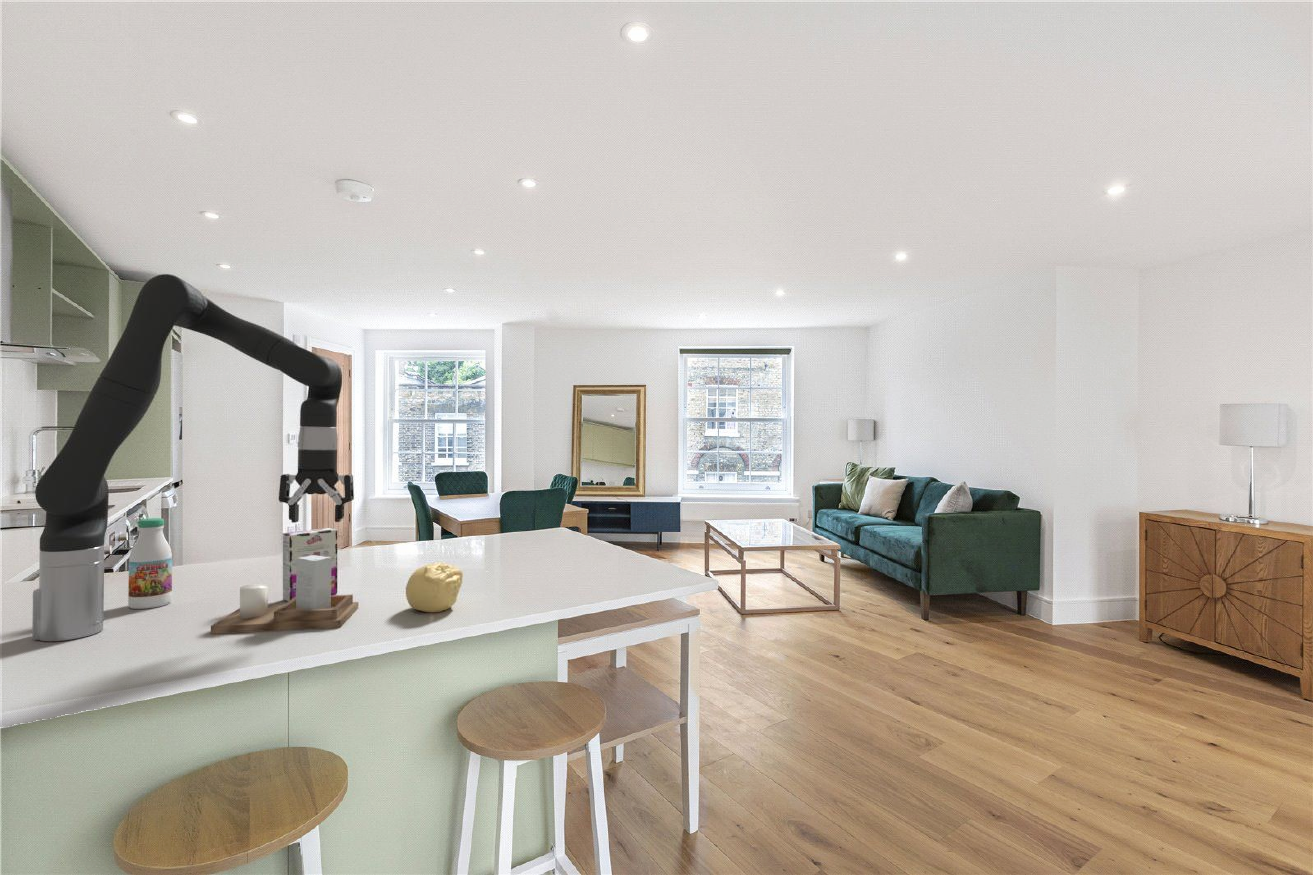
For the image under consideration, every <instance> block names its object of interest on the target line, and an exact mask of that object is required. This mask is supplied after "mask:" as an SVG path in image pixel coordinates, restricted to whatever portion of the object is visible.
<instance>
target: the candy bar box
mask: <svg viewBox="0 0 1313 875" xmlns="http://www.w3.org/2000/svg"><path fill="white" fill-rule="evenodd" d="M312 555H316V556H323V557H331V595H338V529H336V528H333V527H326V528H325V527H323V528H317V529H316V528H315V529H308V530H299V531H293V532H292V531H291V532H284V533H282V600H283V601H285V602H286V603H287V602H289V601H290V600H291V599H293V598H294V597H296V579H297V558H300V557H306V556H312Z"/></svg>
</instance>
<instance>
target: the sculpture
mask: <svg viewBox="0 0 1313 875" xmlns="http://www.w3.org/2000/svg"><path fill="white" fill-rule="evenodd" d="M463 575H464V574H463V572H462V570H461V569H460V568H458V567H456V566H455V565H449V564H447V563H443V562H440V561H437V562H433V563H432V564H427V565H424V566H421V567H419V568H417V569H416V570H414V572H412V573H411V575H410V576H409V578H408V580H407V583H406V586H405V597H406V600H407V603H408V604H409V606H410V607H411V608H412V609H414V610H417V611H421V612H426V613H439V612H443V610H444V611H446V610H448V609H450V608H451V607H453V606H454V605H455V604H456V602H458V601H457V600H458V595H459V592H460V589H461V587H462V585H463V577H464V576H463Z"/></svg>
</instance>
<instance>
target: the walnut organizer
mask: <svg viewBox="0 0 1313 875" xmlns="http://www.w3.org/2000/svg"><path fill="white" fill-rule="evenodd" d="M239 588H240V589H239V607H238V609H235V610H234V611H233V612H231V613H230V614H228V615H226V616H225V617H223V618H221V619H220V620H218V621H216V622H215V623H213V624H212V625H211V626H210V635H211V634H229V633H231V634H233V633H252V632H255V633H256V632H273V631H290V630H291V631H292V630H294V631H295V630H296V631H297V630H310V629H311V630H314V629H315V630H316V629H317V630H318V629H335V628H336V629H337V628H341V627H343V626H344V625H345V623H346V622H347V621H348V620H349V619H350V618H351V617H352V616H353V615H354V613H356V611H357V610H358V609H359V601H353V599H354V596H353V595H354V594H333V595H331V609H309V610H296V597H294V598H293V599H291V600H290V601H289V602H287V601H286V603H284V604H273V605H272V604H271V605H269V603H268V602H269V600H268V599H269V585H268V584H266V583H254V584H247V585H244V586H241V587H239ZM352 614H353V615H352Z"/></svg>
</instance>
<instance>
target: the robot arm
mask: <svg viewBox="0 0 1313 875" xmlns="http://www.w3.org/2000/svg"><path fill="white" fill-rule="evenodd" d="M132 308H133V309H132V311H131V313H130V316H129V319H128V320H127V324H126V325H125V328H124V330H123V332H122V334H121V337H119V338H120V339H119V340H118V342H117V344H116V346H115V348H114V349H113V351H112V353H111V356H109V359H108V360H107V363H106V365H105V366H104V367H103V369H102V371H101V373H100V374H99V376H98V378H97V379H96V381H95V383H94V385H93V387H92V388H91V391H90V392H89V394H88V397H87V398H86V400H85V402H84V405H83V406H82V409H80V410H81V411H80V413H79V414H78V417H77V419H76V421H75V424H74V426H73V428H72V431H71V433H70V435H69V438H67V440H66V443H65V444H64V445H63V447H62V448H61V450H60V451H59V453H58V454H57V455H56V457H55V458H54V460H53V461H52V462H51V463H50V465H49V466H48V468H46V470H45V472H44V473H43V474H42V475H41V478H39V480H38V482H37V483H36V486H35V490H34V496H35V500H36V502H37V504H38V506H39V507H40V508H41V509H42V510H43V511H45V524H44V528H43V530H42V533H41V535H40V536H39V560H38V561H39V564H38V565H39V570H38V571H39V572H38V573H39V574H38V576H39V578H38V581H39V583H38V584H39V586H38V588H37V589H34V590H33V592H32V620H31V621H32V625H31V626H32V628H31V629H32V630H31V631H32V632H31V633H32V635H31V639H32V640H33V641H34V640H35V641H36V640H37V641H38V640H39V641H42V642H60V641H62V642H63V641H68V640H75V639H80V638H81V639H82V638H85V637H88V636H92V635H96V634H97V633H99V632H102V631H103V629H104V608H105V607H104V604H105V602H104V600H105V537H106V533H107V530H108V522H109V521H108V520H109V519H108V518H109V499H110V498H109V496H110V494H109V493H110V492H109V485H108V481H107V479H106V477H105V474H106V472H107V470H108V467H109V465H110V463H111V461H112V459H113V456H114V455H115V453H116V452H117V450H118V449H119V448H120V446H121V445H122V444H123V443H124V442H125V440H127V439H128V437H129V436H130V434H131V433H132V432H133V431H134V429H135V428H136V427H137V426H138V425H139V423H140V422H141V421H142V419H143V418H144V416H145V414H146V413H147V412H148V410H149V408H150V406H151V404H152V402H153V400H154V399H155V397H156V395H157V392H158V390H159V387H160V383H161V378H162V376H161V375H162V358H163V351H164V347H165V344H166V341H167V339H168V338H169V335H170V334H171V331H172V329H173V328H174V327H180V328H183V329H186V330H189V331H193V332H196V333H198V334H199V333H200V334H202V335H206V336H207V337H210V338H213V339H215V340H218V341H220V342H222V343H225V344H226V345H228V346H230V347H231V348H234V349H235V350H237V351H238V352H241V353H243V354H244V355H246V356H248V357H250V358H252V359H254V360H256V361H258V362H260V363H262V364H264V365H266V366H268V367H270V368H273V369H275V370H278V371H280V372H282V373H283V374H284V375H286V376H287V377H290V378H291V379H293V380H295V381H296V382H298V383H300V384H302V385H304V386H306V387H308V389H307V396H306V400H304V401H302V403H301V405H300V411H299V414H300V415H299V431H298V432H299V433H298V438H297V449H298V450H297V473H296V474H290V473H284V474H281V475H280V479H279V481H280V482H279V490H278V502H280V503H284V504H287V505H288V519H289V520H290V521H291V523H293V524H294V523H298V522H299V520H300V517H299V516H300V504H298V503H299V502H300V500H301V499H302V498H303V497H304V496H305V495H306V494H307V495H314V494H317V495H326V494H327V495H328V496H329V497H330V498H331V499H332V500H333V502H334V503H335V505H334V523H339V522H341V521H342V519H344V518H345V505H346V504H347V503H349V502H352V501H353V500H354V498H355V495H354V494H355V493H354V476H353V474H351V473H349V474H344V475H342V474H341V475H339V473H338V445H339V443H338V442H339V441H338V440H339V438H338V430H337V428H338V427H337V426H338V425H337V424H338V410H337V409H338V403H339V400H340V395H341V391H342V386H343V372H342V369H341V367H340V365H339V363H338V362H336V361H335V360H333V359H331V358H328V357H324V356H321V355H319V354H317V353H315V352H313V351H310V350H307V349H306V348H303V347H301V346H300V345H298V344H297V343H296V342H294V341H293V340H291V339H289V338H287V337H285V336H283V335H281V334H279V333H277V332H275V331H273V330H271V329H269V328H266V327H263V326H261V325H259V324H256V323H253V322H251V321H248V320H245V319H242V318H240V317H238V316H236V315H234V314H231V312H228V311H226V310H224V309H223V308H222V307H220V306H219V305H217V304H216V303H215V302H213V301H212V300H211V299H209V298H207V297H206V296H205V295H204V294H203V293H202V292H201V291H200V290H199V289H198V288H196V287H194V286H193V285H191V284H190V283H188V282H186V281H185V280H183V279H182V278H180V277H178V276H176V275H174V274H170V273H163V274H158V275H155V276H153V277H152V278H150V279H149V280H148V281H146V282H145V284H144V285H143V286H142V287H141V289H140V290H139V293H138V295H137V298H136V300H135V302H134V305H133V307H132ZM294 481H295V482H296V483H297V484H298V486H299V487H298V488H297V489H296V490H295V492H294V493H293V495H292V496H290V493H291V485H292V484H294ZM339 481H340V483H341V485H343V486H344V487H343V488H344V497H343V495H342V494H341V493H340V490H338V488H337V487H336V484H337V483H338V482H339Z"/></svg>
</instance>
